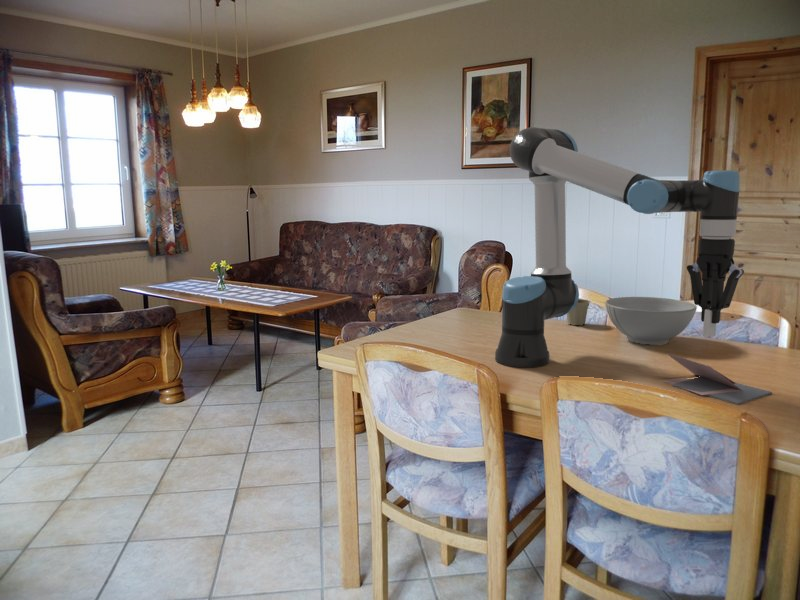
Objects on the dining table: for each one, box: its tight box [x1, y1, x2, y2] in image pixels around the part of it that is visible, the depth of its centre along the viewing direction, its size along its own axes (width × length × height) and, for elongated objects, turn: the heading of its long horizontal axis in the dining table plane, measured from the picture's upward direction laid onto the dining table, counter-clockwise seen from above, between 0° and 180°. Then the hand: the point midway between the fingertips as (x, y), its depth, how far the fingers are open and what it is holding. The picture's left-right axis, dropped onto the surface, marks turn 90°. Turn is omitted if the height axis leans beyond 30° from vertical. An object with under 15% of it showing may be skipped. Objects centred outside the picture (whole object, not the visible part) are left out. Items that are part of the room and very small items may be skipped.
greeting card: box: [661, 352, 742, 396], centre depth 145 cm, size 11×7×15 cm
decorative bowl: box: [604, 296, 698, 346], centre depth 189 cm, size 27×27×12 cm
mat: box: [672, 376, 773, 406], centre depth 142 cm, size 14×16×1 cm
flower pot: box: [565, 298, 591, 326], centre depth 215 cm, size 9×9×9 cm
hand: (709, 335), depth 143 cm, fingers closed
